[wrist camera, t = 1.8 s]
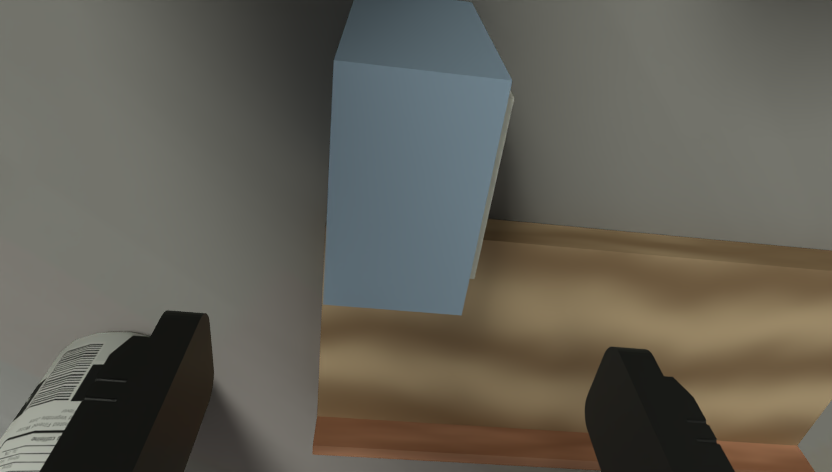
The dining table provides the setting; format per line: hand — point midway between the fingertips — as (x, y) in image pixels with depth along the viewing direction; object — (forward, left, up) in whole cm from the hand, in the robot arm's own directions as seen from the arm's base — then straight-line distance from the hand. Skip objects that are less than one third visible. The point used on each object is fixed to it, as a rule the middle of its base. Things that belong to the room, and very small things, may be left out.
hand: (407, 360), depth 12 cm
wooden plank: (+13, +12, -16) cm, 24 cm away
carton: (0, 0, -16) cm, 16 cm away
